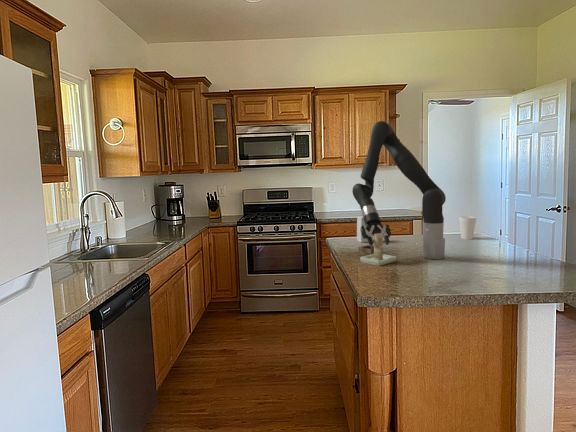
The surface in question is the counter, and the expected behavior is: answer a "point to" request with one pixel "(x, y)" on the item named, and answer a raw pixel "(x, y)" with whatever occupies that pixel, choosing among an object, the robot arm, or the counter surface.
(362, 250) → the box
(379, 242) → the dowel
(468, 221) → the foam cup
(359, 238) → the skincare box
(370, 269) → the counter surface
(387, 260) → the tray
